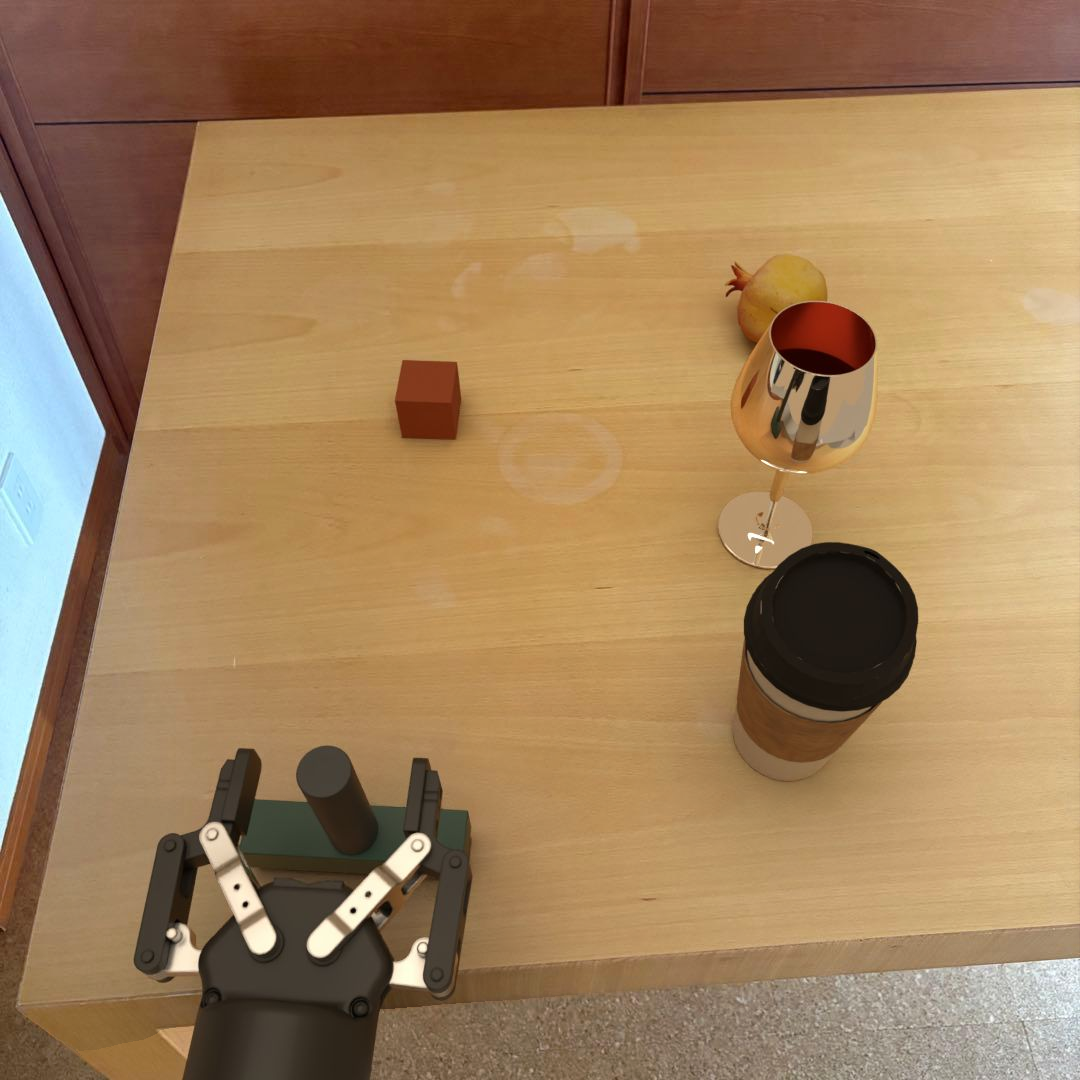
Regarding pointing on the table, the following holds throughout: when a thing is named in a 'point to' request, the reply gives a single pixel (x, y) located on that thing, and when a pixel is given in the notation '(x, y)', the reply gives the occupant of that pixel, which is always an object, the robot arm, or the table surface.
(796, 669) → the coffee cup
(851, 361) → the wineglass
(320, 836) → the wiper
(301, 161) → the table surface
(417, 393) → the rust-brown cube
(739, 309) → the fruit
